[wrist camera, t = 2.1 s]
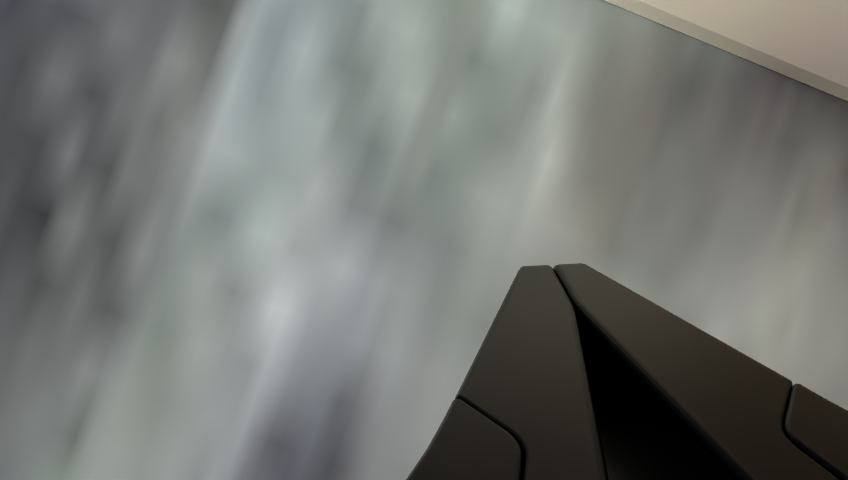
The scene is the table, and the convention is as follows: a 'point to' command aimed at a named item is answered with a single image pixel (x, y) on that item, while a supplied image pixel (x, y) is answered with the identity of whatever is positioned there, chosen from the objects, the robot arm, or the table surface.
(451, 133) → the table surface
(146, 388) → the table surface
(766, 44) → the dial board
